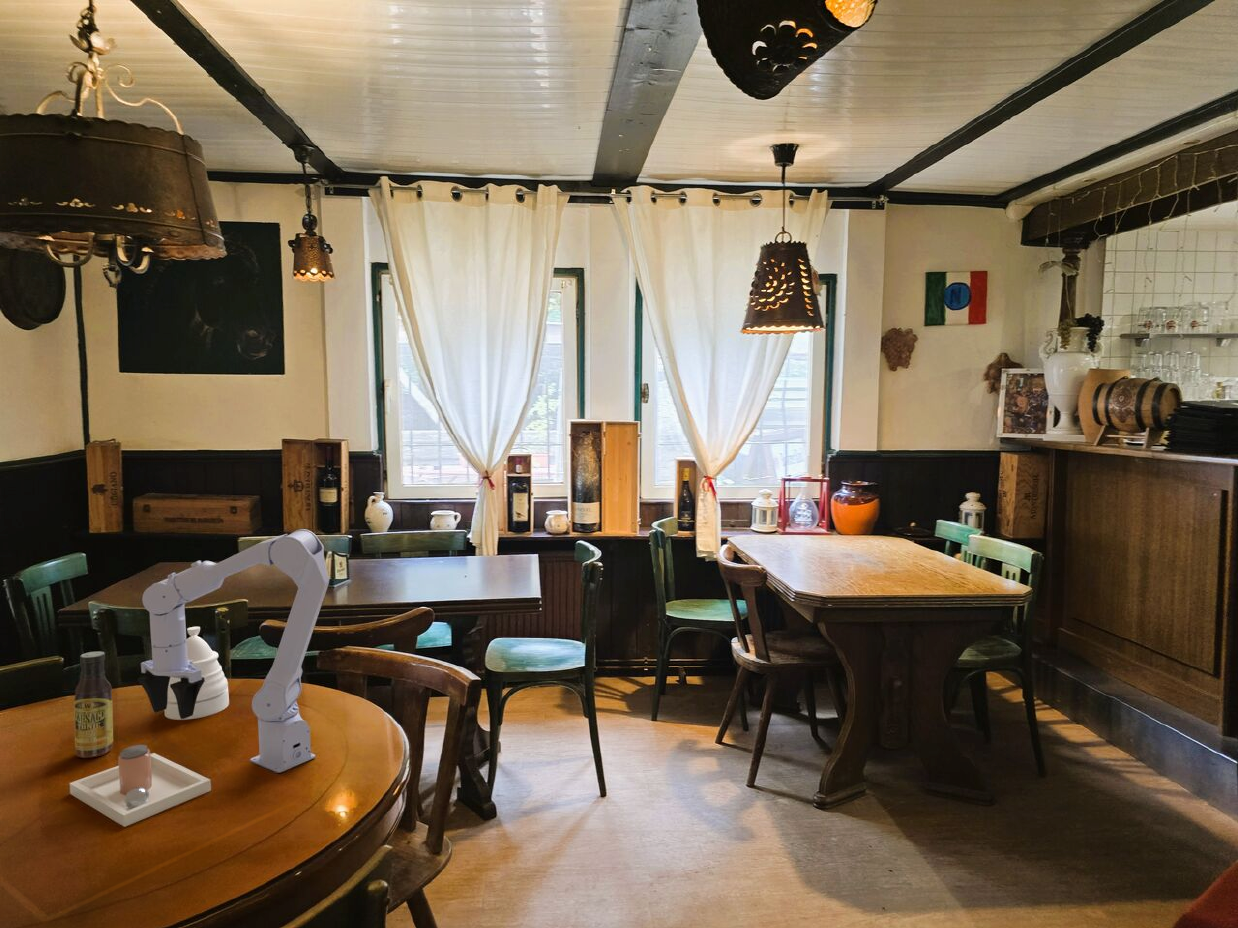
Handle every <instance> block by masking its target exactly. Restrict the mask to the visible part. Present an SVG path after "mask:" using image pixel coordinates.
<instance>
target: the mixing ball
mask: <svg viewBox="0 0 1238 928" xmlns="http://www.w3.org/2000/svg"><path fill="white" fill-rule="evenodd" d="M148 800H149V792H148V790H147V789H145V788H144V787H135V788H133V789H131V790H130V791H129V792H128V793H127V794H126V796H125V804H126V806H127V807H128V808H130V809H133V808H136V807H138V806H141V805H143V804H146V803H147V802H148Z"/></svg>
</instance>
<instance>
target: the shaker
mask: <svg viewBox="0 0 1238 928" xmlns="http://www.w3.org/2000/svg"><path fill="white" fill-rule="evenodd" d="M150 754H151V749H149V748H148V746H147V745H146V744H145V745H144V744H137V745H131V746H128V747H126V748H124V749H122V750H121V751H120V754H119V755H118V756H117V759H118V760H117V764H118V765H117V766H119V781H120V793H121V794H123V795H126V794H127V793H128V792H129V791H130V790H131V789H133V788H135V787H144V788H145V789H147V790H148V789H149V788H151V786H152V774H151V757H150Z"/></svg>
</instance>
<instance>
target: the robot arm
mask: <svg viewBox="0 0 1238 928" xmlns="http://www.w3.org/2000/svg"><path fill="white" fill-rule="evenodd" d="M324 553H325V546H324V544H323V543H322V542H321V540H320V539H319V537H318V536H317V535H316V534H315V533H314V532H312V531H311V530H309V529H306V528H305V529H304V528H299V529H297V530H294V531H292V532H290V534H288V533H285V534H282V535H278V536H276V537H272V538H269V539H265V540H263V541H261V542H259V543H256V544H254V545H252V546H250V547H248V548H246V549H244V550H242V551H240V552H238V553H236V554H233V555H232V556H230V557H228V558H226V559H224V560H222V561H219V562H213V561H210V560H204V561H202V560H197V561H195V562H192V563H191V564H190V567H189V568H186V569H185V570H183V571H180V572H178V573H176V572H172V573H170V574H168V575H167V578H165V579H163V580H161V581H159V582H153V583H152V584H151V585H150V586H148V587H147V588H146V589H145V590H144V592H143V594H142V599H141V600H142V605H143V607H144V608H145V610H146V611H148V612H149V626H150V627H149V628H150V641H151V642H150V643H151V658H152V659H149V660H146V661H143V662H141V663H140V668H141V674H144V675H142V676H140V677H138V679H137V681H138V683H139V684H140V686H141V687H142V688H143V689H144V691H145V694H146V695H147V698H148V699H149V702H150V705H151V708H152V710H153V712H154V713H155V714H156V713H159V712H162V711H164V710H165V709H166V708H167V701H168V685H169V681H170V677H174V678H179V679H181V681H179V682H176V683H173V684H170V687H171V689H172V690H173V692H174V694H175V697H176V700H177V704H178V711H179V715H180V718H181V719H185V718H187V717H190V716H192V715H193V712H194V707H195V703H196V699H197V696H198V693H199V691H200V689H201V687H202V685H203V683H204V682H205V679H204V677H202V676H201V670H200V669H197V668H195V667H194V666H193V665H192V664H193V661H192V660H188V658H187V641H186V639H187V627H186V614H185V613H186V611H185V610H186V608H185V605H186V604H187V603H190V602H192V601H194V600H196V599H199V598H202V597H203V596H206V595H207V594H210V593H212V592H214V591H216V590H218V589H220V588H221V587H222V585H223V583H224V580H225V578H227V577H229V576H232V575H235V574H237V573H240V572H242V571H245V570H247V569H249V568H251V567H254V566H256V565H258V564H261V565H264V566H266V567H271V566H273V565H274V566H275V567H276V568H278V569H279V570H281V572H283V573H284V574H285V575H287V576H288V577H289V578H290V579H292V581H293V583H294V584H295V585H296V586H297V591H296V594H295V597H294V600H293V604H292V606H291V609H290V613H289V615H288V618H287V622H286V625H285V628H284V631H283V633H282V636H281V639H280V643H279V645H278V648H277V652H276V654H275V657H274V660H273V663H272V666H271V668H270V669H269V671H268V673H267V675H266V676H265V678H264V680H263V684H262V686H261V687H260V689H259V690H258V691H257V692H256V693H255V694H254V695H253V696H252V697H253V698H252V700H251V708H252V712H253V714H254V715H255V716H256V717H257V725H258V728H257V729H258V730H257V732H258V744H259V745H258V747H259V748H258V749H259V754H258V755H256V756H253V757H251V758H250V759H249V762H250V763H253V764H255V765H258V766H260V767H262V768H265V769H267V770H269V771H272V772H274V773H275V774H279V773H282V772H285V771H288V770H290V769H292V768H294V767H297V766H299V765H301V764H303V763H306V762H308V761H310V760H312V759H316V754H314V753H313V752H312V747H311V745H312V744H311V742H312V741H311V728H310V725H309V724H308V722H307V721H306V720H304V719H303V718H302V716H301V715H300V709H299V705H298V703H297V700H298V698H299V697H300V695H301V693H302V682H301V681H302V679H301V677H302V675H303V669H302V665H303V661H304V659H305V656H306V653H307V650H308V647H309V644H310V641H311V638H312V634H313V631H314V628H315V626H316V623H317V620H318V617H319V614H320V611H321V608H322V605H323V602H324V599H325V597H326V593H327V590H328V586H329V585H330V584H329V583H330V577H329V571H328V568H327V564H326V559H325V555H324Z"/></svg>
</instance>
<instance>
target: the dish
mask: <svg viewBox="0 0 1238 928" xmlns="http://www.w3.org/2000/svg"><path fill="white" fill-rule="evenodd" d="M150 757H151V774H152V786H151V788H149V789H148V792H149V800H148V802H147V803H146V804H143V805H141V806H138V807H136V808H133V809H130V808H128V807H127V806H126V804H125V796H126V795H123V794H121V793H120V781H119V765H117V766H114V767H111V768H108V769H105V770H102V771H100V772H99V771H98V772H97V773H95V774H91V775H89V776H86V777H83V778H80V779H77V780H74V781H72V782H69V795H71V796H73V797H75V799H78V800H79V801H81V802H83V803H85V804H86V805H88V806H89V807H90V808H93V809H94V810H96V811H97V812H99V813H101V814H102V815H104V816H106V817H108V818H110V819H111V820H112V821H114V822H116V823H117V824H118V825H120V826H122V827H124V828H126V827H127V826H130V825H133V824H135V823H138V822H140V821H142V820H144V819H147V818H149V817H151V816H154V815H156V814H159V813H161V812H164V811H165V810H168V809H171V808H174V807H176V806H178V805H180V804H183V803H185V802H188V801H190V800H192V799H194V798H195V799H196V798H197V797H199V796H202V795H203V794H207V793H208V792H211V791H212V784H211V782H212V781H211V779H210V778H208V777H205V776H203V775H201V774H199V773H197V772H195V771H193V770H190V769H189V768H187V767H185V766H183V765H180V764H178V763H176V762H174V761H172V760H170V759H167V758H166V757H164V756H162V755H159V754H157V753H155V752H153V753H150Z"/></svg>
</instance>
